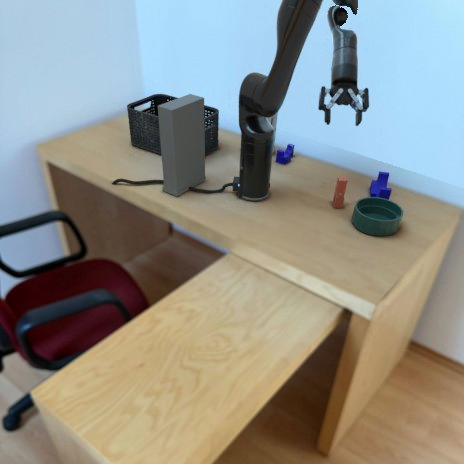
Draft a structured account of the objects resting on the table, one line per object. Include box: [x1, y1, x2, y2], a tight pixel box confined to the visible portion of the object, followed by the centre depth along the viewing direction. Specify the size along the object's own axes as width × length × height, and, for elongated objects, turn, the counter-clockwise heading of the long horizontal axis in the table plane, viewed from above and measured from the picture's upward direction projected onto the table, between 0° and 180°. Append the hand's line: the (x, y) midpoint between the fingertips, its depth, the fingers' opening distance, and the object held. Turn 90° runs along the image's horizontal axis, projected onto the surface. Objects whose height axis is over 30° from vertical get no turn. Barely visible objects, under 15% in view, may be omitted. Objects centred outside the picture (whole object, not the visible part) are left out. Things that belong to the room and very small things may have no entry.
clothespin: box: [332, 176, 349, 209], centre depth 128 cm, size 2×3×8 cm
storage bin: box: [126, 93, 220, 157], centre depth 155 cm, size 29×19×13 cm
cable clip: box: [369, 171, 393, 200], centre depth 133 cm, size 12×4×6 cm, turn 168°
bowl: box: [351, 196, 404, 237], centre depth 122 cm, size 13×13×5 cm
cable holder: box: [275, 143, 295, 165], centre depth 152 cm, size 8×4×4 cm, turn 142°
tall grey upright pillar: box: [158, 93, 207, 197], centre depth 129 cm, size 14×6×25 cm, turn 144°
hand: (343, 124), depth 127 cm, fingers open, 8 cm apart
